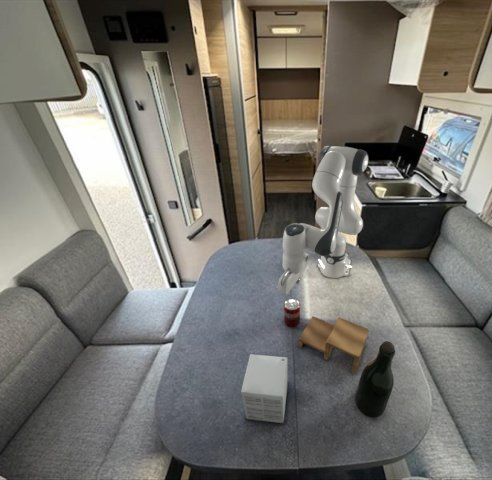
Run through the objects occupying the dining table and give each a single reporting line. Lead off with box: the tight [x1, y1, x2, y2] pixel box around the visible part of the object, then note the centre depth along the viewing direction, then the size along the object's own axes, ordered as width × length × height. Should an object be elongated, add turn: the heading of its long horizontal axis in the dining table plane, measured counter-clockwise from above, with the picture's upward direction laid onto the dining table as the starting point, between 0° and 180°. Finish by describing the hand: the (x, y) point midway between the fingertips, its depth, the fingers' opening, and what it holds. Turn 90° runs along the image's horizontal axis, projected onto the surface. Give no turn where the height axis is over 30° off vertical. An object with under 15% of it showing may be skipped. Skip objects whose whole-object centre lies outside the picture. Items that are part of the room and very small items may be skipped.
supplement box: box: [240, 353, 289, 424], centre depth 89 cm, size 13×13×18 cm
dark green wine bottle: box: [354, 340, 396, 419], centre depth 84 cm, size 10×10×33 cm
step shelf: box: [298, 315, 370, 374], centre depth 109 cm, size 14×25×11 cm, turn 61°
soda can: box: [283, 298, 301, 329], centre depth 120 cm, size 7×7×12 cm
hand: (292, 288), depth 111 cm, fingers open, 8 cm apart
